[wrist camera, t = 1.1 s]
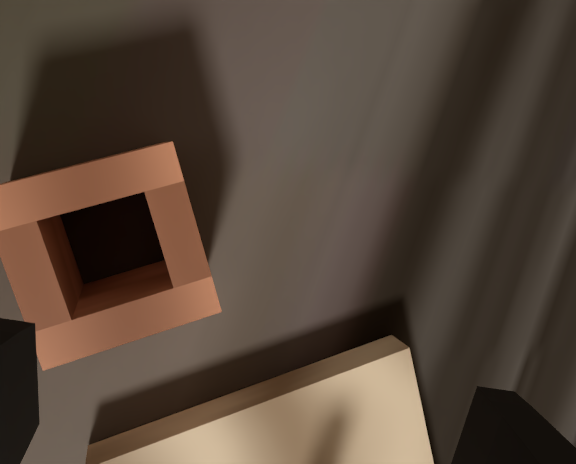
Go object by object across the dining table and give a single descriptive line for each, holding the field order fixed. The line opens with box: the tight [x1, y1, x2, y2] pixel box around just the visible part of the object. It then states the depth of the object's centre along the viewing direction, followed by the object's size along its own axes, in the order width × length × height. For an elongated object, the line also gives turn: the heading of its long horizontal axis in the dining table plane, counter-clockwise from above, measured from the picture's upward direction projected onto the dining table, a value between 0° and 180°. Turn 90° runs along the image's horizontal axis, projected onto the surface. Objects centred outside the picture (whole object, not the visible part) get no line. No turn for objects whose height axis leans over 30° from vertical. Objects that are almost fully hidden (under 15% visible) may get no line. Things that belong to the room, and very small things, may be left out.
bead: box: [0, 141, 222, 371], centre depth 17 cm, size 5×5×4 cm
